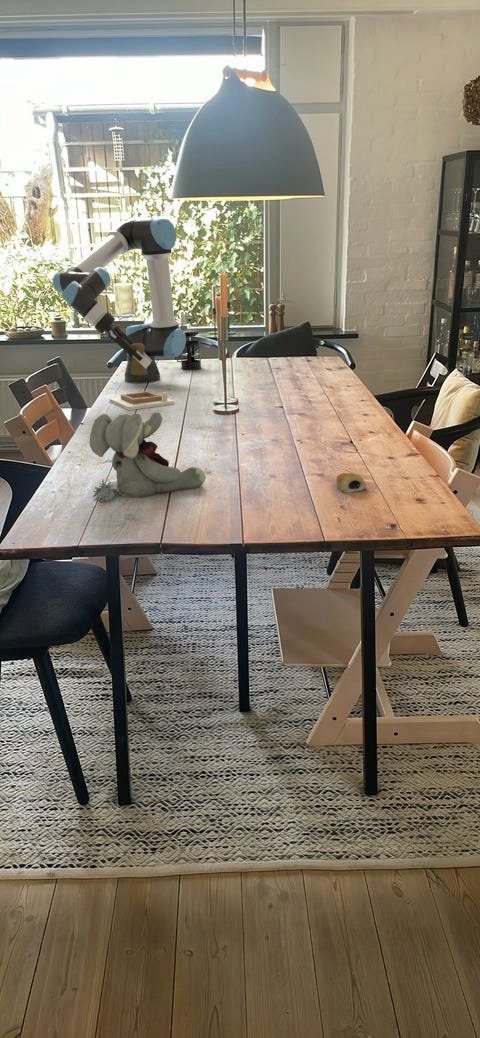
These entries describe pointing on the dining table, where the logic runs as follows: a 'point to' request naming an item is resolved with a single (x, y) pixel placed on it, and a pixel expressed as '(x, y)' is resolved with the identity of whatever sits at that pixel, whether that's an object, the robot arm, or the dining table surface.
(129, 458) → the plush elephant
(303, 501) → the dining table surface
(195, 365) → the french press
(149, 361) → the robot arm
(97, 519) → the dining table surface
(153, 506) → the dining table surface
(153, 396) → the seat board
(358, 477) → the pastry
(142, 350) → the cork
